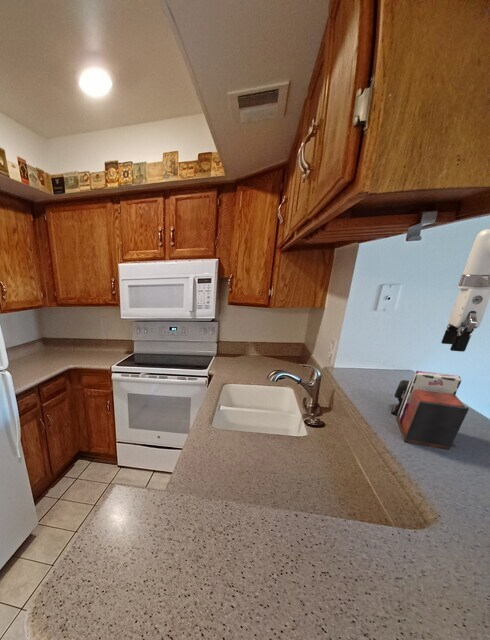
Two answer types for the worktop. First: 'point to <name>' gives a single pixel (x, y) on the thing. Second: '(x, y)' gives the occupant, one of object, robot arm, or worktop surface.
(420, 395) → the wooden speaker
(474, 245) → the robot arm
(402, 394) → the battery charger
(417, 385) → the candy bar box
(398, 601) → the worktop surface
